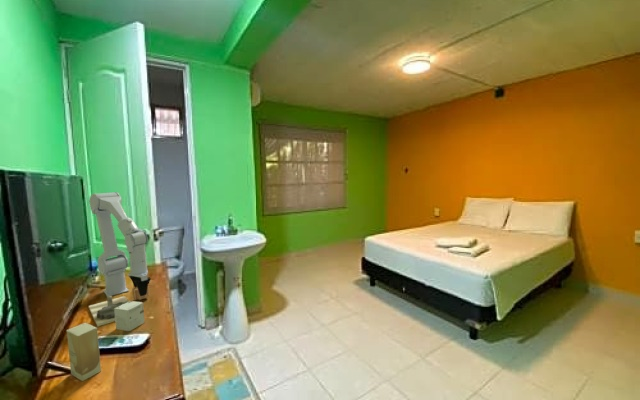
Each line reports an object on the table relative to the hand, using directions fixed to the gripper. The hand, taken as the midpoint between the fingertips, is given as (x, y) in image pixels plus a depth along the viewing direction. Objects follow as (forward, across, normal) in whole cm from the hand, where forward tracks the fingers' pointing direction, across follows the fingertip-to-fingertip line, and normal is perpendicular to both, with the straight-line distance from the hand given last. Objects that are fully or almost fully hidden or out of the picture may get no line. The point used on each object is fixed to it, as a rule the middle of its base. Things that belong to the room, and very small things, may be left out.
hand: (141, 293), depth 119 cm
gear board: (+3, +3, -10) cm, 11 cm away
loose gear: (+2, 0, 0) cm, 2 cm away
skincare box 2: (+3, +21, -8) cm, 23 cm away
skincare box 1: (+3, +40, -22) cm, 46 cm away
